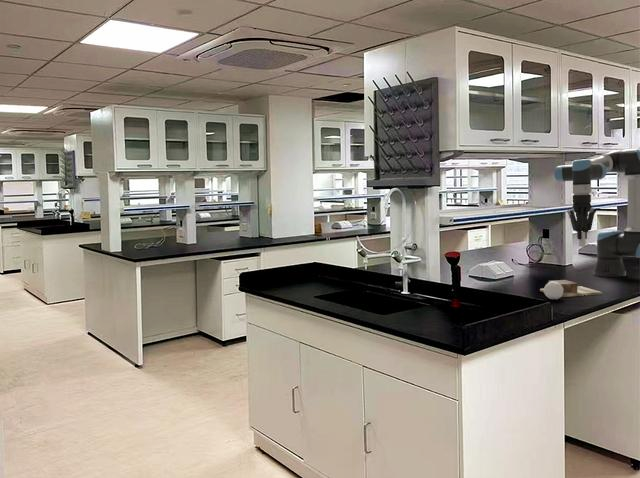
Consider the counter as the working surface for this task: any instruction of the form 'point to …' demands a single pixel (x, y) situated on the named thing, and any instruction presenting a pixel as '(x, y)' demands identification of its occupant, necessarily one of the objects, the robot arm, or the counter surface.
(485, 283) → the counter surface
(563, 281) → the wooden block
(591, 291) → the board
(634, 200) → the robot arm
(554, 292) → the geometric ball
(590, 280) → the counter surface
